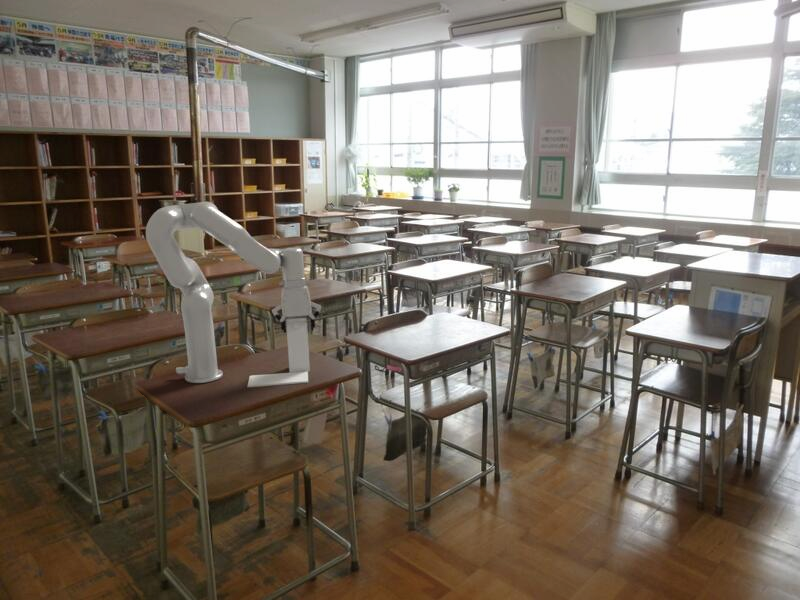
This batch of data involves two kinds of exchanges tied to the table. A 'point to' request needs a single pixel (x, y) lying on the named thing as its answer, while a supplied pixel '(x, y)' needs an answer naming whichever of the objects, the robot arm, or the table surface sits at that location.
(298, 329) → the milk carton
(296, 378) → the mat
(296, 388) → the table surface
